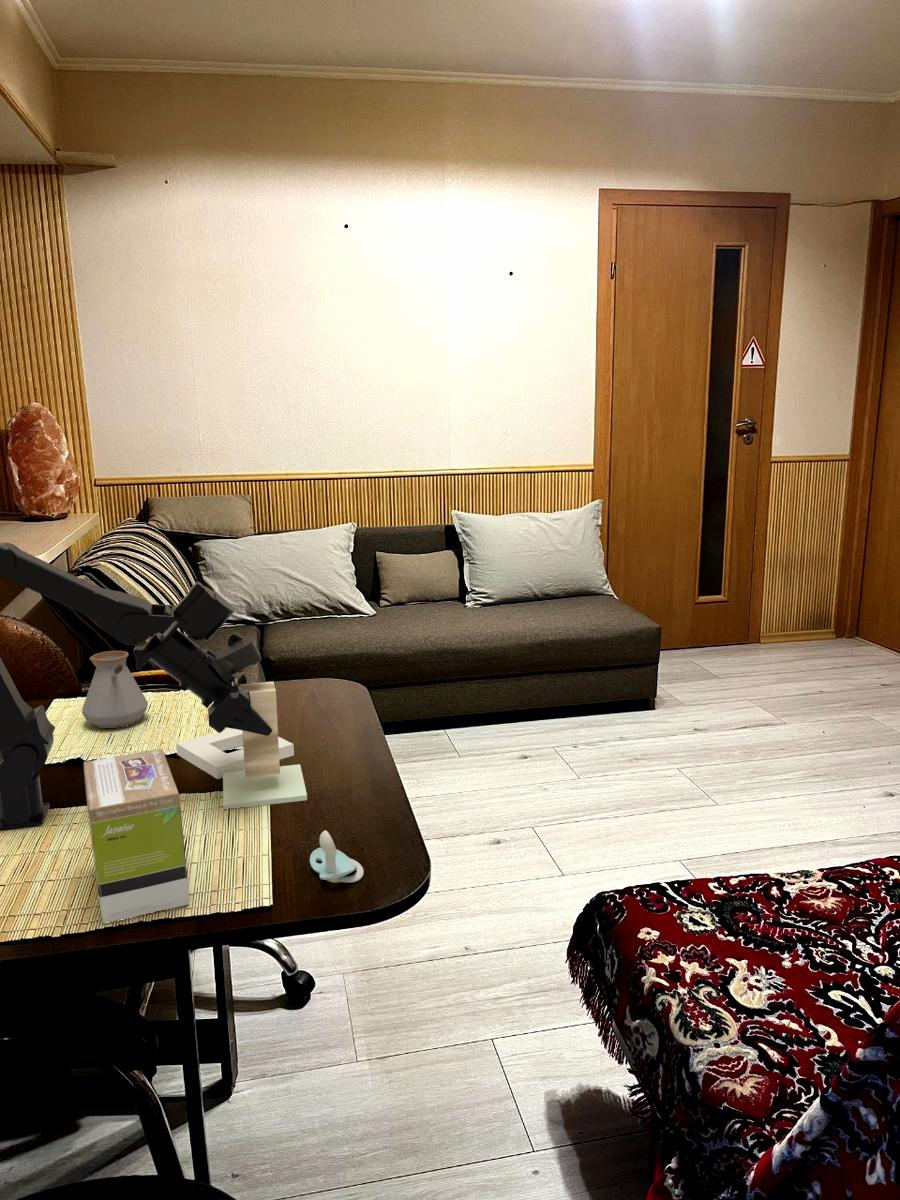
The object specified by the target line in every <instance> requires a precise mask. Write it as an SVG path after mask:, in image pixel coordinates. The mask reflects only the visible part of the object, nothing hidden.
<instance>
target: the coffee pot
mask: <svg viewBox="0 0 900 1200" xmlns="http://www.w3.org/2000/svg"><path fill="white" fill-rule="evenodd" d="M128 657H129V652H127V651H125V650H124V651H123V650H109V651H107V650H106V651H102V652H98V653H95V654H93V655H92V656H90V657H89V661H91V663H92V664H93V666H95V670H94V673H93V677H92V679H91V683H90V685H89V688H88V691H87V693H86V697H85V700H84V703H83V706H82V710H81V711H82V712H81V714H82V716H83V718H84V719H85V720H86V721H87V722H89V723H90V724H93V725H94V726H95V725H96V726H97V727H96V726H95V727H96V728H98V727H99V728H98V729H102V728H116V729H118V728H117V727H122V728H124V727H123V726H126V727H128V726H127V725H130V724H132V725H134V724H136V723H137V722H138V721H139V720H138V719H140V718H142V716H143V715H144V713H146V711H147V709H148V706H149V705H148V704H149V703H148V701H147V697H145V695H144V694H143V692H142V690H141V688H140V686H139V685H138V683H137V681H136V679H135V678H134V676H133V674H132V672H131V671H130V669H129V668H128V666H127V658H128ZM137 720H138V721H137ZM135 722H136V723H135ZM133 723H134V724H133ZM130 726H131V725H130Z"/></svg>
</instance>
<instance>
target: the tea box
mask: <svg viewBox="0 0 900 1200" xmlns="http://www.w3.org/2000/svg"><path fill="white" fill-rule="evenodd" d="M83 774H84V786H85V795H86V796H85V797H86V805H87V806H86V807H87V814H88V825H89V832H90V839H91V848H92V856H93V862H94V872H95V879H96V886H97V893H98V898H99V904H100V905H99V906H100V912H101V919H102V920H101V921H102V923H103V924H105V923H106V922H112V921H117V920H121V919H126V918H130V917H133V916H136V915H143V914H147V913H151V912H156V911H161V910H165V911H168V909H169V910H172V909H176V908H177V909H178V908H181V907H184V906H187V905H189V904H190V903H191V902H190V900H191V899H190V890H189V887H190V886H189V879H188V870H187V860H186V859H187V858H186V848H185V841H184V829H183V819H182V808H181V807H182V806H181V801H180V795H179V794H180V793H179V790H178V787H177V784H176V782H175V780H174V777H173V775H172V771H171V768H170V766H169V763H168V761H167V758H166V755H165V753H164V750H163V748H157V749H152V750H146V751H141V752H134V753H129V754H125V755H124V754H123V755H117V756H112V757H107V758H101V759H96V760H94V759H93V760H89V761H86V760H85V761H83ZM161 912H162V911H161Z"/></svg>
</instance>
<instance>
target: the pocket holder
mask: <svg viewBox="0 0 900 1200" xmlns="http://www.w3.org/2000/svg"><path fill="white" fill-rule="evenodd" d="M278 743H279V761H281V760H283V759H287V758H290V757H293V756H295V751H294V750H295V748H294V746H295V745H294V743H292V742H290V741H288V740H286V739H284V738H283V737H280V736H278ZM175 745H176V755H177V756H179V757H180V758H182V759H184V760H185V761H187V762H188V763H190V764H192V765H194V766H195V767H197V768H199V769H200V770H201V771H203V772H205V773H207V774H208V775H210V776H211V777H213V778H215V779H217V780H220V779H223V773H224V772H234V771H243V770H245V766H244V750H243V748H242V749H239V750H235V751H232V752H228V753H226V752H225V751H227V749H228V750H231V749H234V747H235V748H238V747H241V746H243V733H242V730H238V729H232V728H226V729H224V730H223V731H222V732H221V733H218V732H217V731H216V732H213V733H208V734H206V735H201V736H197V737H194V738H191V739H187V740H183V741H181V742H177V743H176V744H175ZM230 748H231V749H230Z"/></svg>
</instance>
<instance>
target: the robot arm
mask: <svg viewBox="0 0 900 1200" xmlns="http://www.w3.org/2000/svg"><path fill="white" fill-rule="evenodd" d="M0 577H1V578H5V579H7V580H10V581H12V582H15V583H16V584H19V585H21V586H23V587H25V588H26V589H29V590H31V591H33V592H35V593H37V594H40V595H42V596H44V597H46V598H47V599H50V600H52V601H55V602H57V603H59V604H61V605H63V606H64V607H65V606H66V607H68V608H69V609H71V610H74V611H76V612H78V613H81V614H82V615H84V616H85V617H86V618H88V619H89V620H91V621H92V622H93V623H94V624H95V625H96V626H97V627H98V628H100V629H101V630H102V631H104V632H105V633H106V634H108V635H110V636H111V637H112V638H114V639H115V640H116V641H118V642H119V643H121V644H124V645H127V646H135V647H134V648H133V654H134V656H135V668H136V669H137V670H142V668H143V667H144V666H145V665H146V664H147V662H149V661H151V662H152V663H154V664H155V666H157V667H159V668H160V669H161V670H163V671H164V672H165V673H166V674H168V675H169V676H170V677H172V678H173V679H175V680H176V682H178V684H179V688H180V689H182V690H183V691H184V692H186V690H189V692H191V693H192V694H194V695H195V696H196V697H198V699H200V700H201V705H203V706H204V707H205V708H207V717H208V726H209V727H210V728H212V729H213V730H214V731H216V732H218V733H221V732H222V731H223V730H226V729H230V728H232V729H238V730H243V731H248V732H252V733H257V734H261V735H266V736H269V735H270V734H271V732H272V729H271V727H270V726H269V725H268V724H267V723H266V722H265V721H264V720H263V718H262V717H261V716H260V715H259V714H258V713H257V712H256V711H255V710H254V708H253V707H252V706H251V697H250V693H249V691H248V692H247V693H246V692H245V691H244V690H243V689H242V688H241V687H240V684H248V681H247V676H246V674H245V673H243V674H241V673H242V672H243V671H244V669H246V668H248V667H250V666H254V665H257V664H258V663H259V662H261V661H262V656H261V653H260V651H259V649H258V647H257V646H256V644H255V642H254V640H253V639H252V637H251V636H250V635H248V634H245V635H244V636H243V635H242V634H240V633H238V632H237V631H235V632H232V633H231V634H229V635H227V636H226V637H227V646H223V647H222V649H221V650H220V651H218V652H216V653H215V652H214V651H213V650H211V648H208V649H207V648H204V649H203V648H201V646H199V645H198V644H197V643H195V642H194V641H193V640H195V641H196V642H198V641H203V640H204V639H205V640H207V641H209V640H210V639H211V638H212V637H213V636H214V635H215V634H216V633H217V632H218V630H219V629H221V627H222V626H223V625H224V624H225V623H226V622H227V620H228V619H230V618H231V616H232V615H233V614H234V613H235V611H236V610H235V609H234V607H233V606H232V605H231V604H230V603H229V602H228V600H227V599H225V598H224V597H223V596H221V595H220V594H219V592H217V591H213V590H212V589H210V588H209V587H207V586H205V585H203V584H202V583H201V582H200V581H196V582H195V583H193V585H192V586H191V588H190V589H189V591H188V592H187V594H186V595H184V597H183V598H182V599H181V600H180V601H179V602H178V603H177V605H172V604H157V603H151V602H150V601H148V600H147V599H146V598H142V597H141V596H140V597H139V596H136V595H133V594H130V593H126V592H123V591H119V590H114V589H109V588H108V589H106V588H103V587H100V586H97V585H94V584H93V583H91V582H88V581H87V580H84V579H83V578H80V577H78V576H76V575H74V574H72V573H70V572H67V571H66V570H63V569H61V568H59V567H57V566H55V565H53V564H51V563H49V562H47V561H45V560H42V559H40V558H39V557H36V556H34V555H32V554H30V553H28V552H26V551H24V550H22V549H20V548H19V547H18V546H17V545H15V544H14V543H10V542H1V543H0ZM179 629H180V630H182V631H183V632H184V633H185V634H184V633H183V632H182V631H180V630H179ZM162 632H163V633H162ZM186 635H187V636H186ZM151 636H152V637H151ZM189 637H190V638H191V639H190V638H189ZM192 639H193V640H192ZM147 640H148V641H147ZM146 641H147V642H146ZM144 642H146V643H145V644H144V645H141V646H136V645H138V644H142V643H144ZM237 673H239V674H241V676H240V677H239V678H238V679H237V678H236V676H235V674H237ZM15 684H16V683H14V681H13V679H12V677H11V675H10V673H9V672H8V669H7V667H6V666H5V663H4V662H3V660H2V658H1V657H0V830H7V829H14V828H23V827H22V826H25V827H32V826H33V825H34V826H39V825H42V824H43V823H44V821H45V819H46V816H47V814H48V812H49V809H50V802H45V803H43V798H42V797H43V795H42V788H41V779H40V774H39V772H38V771H40V770H42V768H43V767H44V765H46V762H47V760H48V757H49V755H50V752H51V750H52V747H53V745H54V741H55V739H54V732H55V731H56V730H55V729H56V726H55V725H53V723H51V722H50V719H48V716H47V714H46V709H45V706H44V705H43V704H40V705H39V706H37V707H35V708H33V707H32V706H30V705H29V704H28V703H27V702H26V701H24V699H23V698H22V696H21V694H20V692H19V690H18V689H17V686H16V685H15ZM31 825H32V826H31Z"/></svg>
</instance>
